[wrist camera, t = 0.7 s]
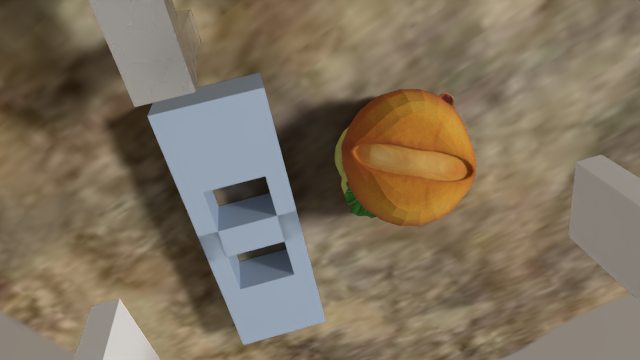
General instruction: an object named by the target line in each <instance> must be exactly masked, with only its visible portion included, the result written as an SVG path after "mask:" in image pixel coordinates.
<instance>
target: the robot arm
mask: <svg viewBox="0 0 640 360" xmlns="http://www.w3.org/2000/svg"><path fill="white" fill-rule="evenodd" d="M569 237H570V238H571V239H572V240H573V241H574V242H575V243H576V244H578V245H579V246H580V247H581V248H582V249H583V250H584V251H585V252H586V253H587V254H588V255H590V256H591V257H592V258H593V259H594V260H595V261H596V262H597V263H598V264H599V265H600V266H601V267H603V268H604V269H605V270H606V271H607V272H608V273H609V274H610V275H611V276H612V277H613V278H615V279H616V280H617V281H618V282H619V283H620V284H621V285H622V286H623V287H624V288H625V289H627V290H628V291H629V292H630V293H631V294H632V295H633V296H634V297H635V298H636V299H637V300H639V301H640V178H638V177H637V176H635V175H633V174H632V173H630V172H629V171H627V170H625V169H624V168H622V167H621V166H619V165H617V164H616V163H614V162H613V161H611V160H609V159H608V158H606V157H604V156H603V155H598V156H595V157H592V158H588V159H585V160H582V161H578V162H576V168H575V178H574V188H573V197H572V207H571V217H570V227H569ZM74 360H160V359H159V357H158V356H157V354H156V353H155V351H154V350H153V348H152V347H151V345H150V344H149V342H148V341H147V339H146V338H145V336H144V335H143V333H142V332H141V330H140V329H139V327H138V326H137V324H136V323H135V321H134V320H133V318H132V317H131V315H130V314H129V312H128V311H127V309H126V308H125V306H124V305H123V303H122V302H121V300H120V299H117V300H113V301H110V302H107V303H103V304H100V305H96V306H93V307H91V310H90V313H89V316H88V319H87V322H86V325H85V328H84V331H83V334H82V337H81V340H80V343H79V345H78V348H77V351H76V354H75V357H74Z"/></svg>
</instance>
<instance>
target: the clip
mask: <svg viewBox="0 0 640 360" xmlns="http://www.w3.org/2000/svg"><path fill="white" fill-rule="evenodd" d="M89 2H90V4H91V7H92V9H93V11H94V14H95V16H96V18H97V21H98V23H99V25H100V28H101V30H102V32H103V35H104V37H105V39H106V42H107V44H108V46H109V49H110V51H111V53H112V55H113V58H114V60H115V62H116V65H117V67H118V69H119V72H120V74H121V76H122V79H123V81H124V83H125V86H126V88H127V90H128V93H129V95H130V97H131V100H132V102H133V104H134V106H135V107H137V106H141V105H145V104H150V103H154V102H158V101H162V100H166V99H170V98H174V97H178V96H182V95H186V94H190V93H194V92H196V88H197V82H198V76H197V73H196V70H195V67H196V62H197V58H198V53H199V48H200V43H201V39H200V36H199V33H198V30H197V27H196V23H195V20H194V17H193V14H192V11H191V10H187V11H183V12H178V13H176V11H175V8H174V5H173V2H172V0H89Z"/></svg>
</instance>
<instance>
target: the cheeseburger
mask: <svg viewBox="0 0 640 360" xmlns="http://www.w3.org/2000/svg"><path fill="white" fill-rule="evenodd" d="M335 164H336V167H337V169H338V171H339V173H340V175H341V177H342V182H341V187H342V189H343V192H344V197H345V198H346V200H347V202H348V204H347V205H351V204H354V205H353V207H352V209H351V211H350V213H354V214H356V215H357V216H369V217H371V218H373V217H378V218H379V219H381V220H383V221H386V222H389V223H392V224H395V225H399V226H415V225H421V224H425V223H428V222H432V221H435V220H437V219H439V218H441V217H443V216H444V215H446V214H448V213H449V212H450V211H451V210H452V209H453V208H454V207H456V206H457V205H458V203H459V202H460V201H461V199H462V198H463V196H464V195H465V194H466V193H467V191H468V189H469V187H470V186H471V184H472V181H473V179H474V176H475V171H476V160H475V155H474V150H473V147H472V144H471V142H470V139H469V135H468V132H467V129H466V127H465V126H464V124H463V122H462V120H461V118H460V116H459V115H458V114H457V112H456V111H455V107H454V99H453V97H452V96H451V95H449V94H447V93H442V94H441V95H440V96H437V95H435V94H432V93H429V92H426V91H423V90H420V89H400V90H397V91H393V92H390V93H387V94H384V95H380V96H379V97H377V98H375V99H374V100H372V101H370V102H369V103H368V104H367V105H365V106H364V107H363V108H362V109H361V110H360V111H359V112H358V114H357V115H356V117H355V118H354V120H353V121H352V123H351V124H350V125H349V127H348V128H347V129H345V131H343V133H342V135H341V137H340V139H339V141H338V143H337V145H336V148H335Z"/></svg>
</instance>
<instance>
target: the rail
mask: <svg viewBox="0 0 640 360" xmlns="http://www.w3.org/2000/svg"><path fill="white" fill-rule="evenodd" d="M147 117H148V119H149V122H150V124H151V126H152V129H153V131H154V133H155V136H156V138H157V141H158V143H159V145H160V148H161V150H162V152H163V155H164V157H165V160H166V162H167V164H168V167H169V169H170V171H171V174H172V176H173V179H174V181H175V183H176V186H177V188H178V190H179V193H180V195H181V198H182V200H183V202H184V205H185V207H186V209H187V212H188V214H189V217H190V219H191V221H192V224H193V226H194V228H195V231H196V233H197V236H198V238H199V240H200V243H201V245H202V248H203V250H204V252H205V255H206V257H207V259H208V262H209V264H210V267H211V269H212V271H213V274H214V276H215V278H216V281H217V283H218V286H219V288H220V290H221V293H222V295H223V297H224V300H225V302H226V305H227V307H228V309H229V312H230V314H231V316H232V319H233V321H234V324H235V326H236V328H237V331H238V333H239V335H240V338H241V340H242V343H243V345H245V344H249V343H252V342H256V341H259V340H263V339H266V338H270V337H273V336H277V335H280V334H284V333H287V332H291V331H294V330H298V329H301V328H305V327H308V326H312V325H315V324H319V323H323V322H326V320H325V316H324V312H323V308H322V305H321V301H320V297H319V293H318V289H317V285H316V282H315V278H314V274H313V270H312V267H311V263H310V259H309V255H308V251H307V248H306V244H305V240H304V236H303V233H302V229H301V225H300V221H299V218H298V214H297V210H296V206H295V202H294V199H293V195H292V191H291V187H290V184H289V180H288V176H287V172H286V168H285V165H284V161H283V157H282V153H281V150H280V146H279V142H278V138H277V134H276V131H275V127H274V123H273V119H272V116H271V112H270V108H269V104H268V100H267V97H266V93H265V89H264V85H263V82H262V78H261V74H260V73H256V74H252V75H248V76H244V77H239V78H235V79H231V80H227V81H223V82H219V83H215V84H211V85H207V86H203V87H199V88H196V92H194V93H190V94H186V95H182V96H178V97H174V98H170V99H166V100H162V101H158V102H154V103H153V104H152V106H151V108H150V111H149V113H148V116H147ZM264 176H265V177H266V180H267V183H268V187H269V190H270V193H268V194H264V195H260V196H256V197H252V198H249V199H245V200H241V201H237V202H233V203H230V204H226V205H222V206H218V204H217V201H216V198H215V196H214V193H213V190H214V189H218V188H222V187H226V186H230V185H234V184H237V183H241V182H245V181H249V180H253V179H257V178H261V177H264ZM281 242H285V245H286V248H287V249H285V250H281V251H277V252H274V253H270V254H266V255H263V256H259V257H255V258H252V259H248V260H244V261H241V262H239V260H238V257H237V254H241V253H244V252H248V251H252V250H255V249H259V248H263V247H266V246H270V245H274V244H278V243H281Z"/></svg>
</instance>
